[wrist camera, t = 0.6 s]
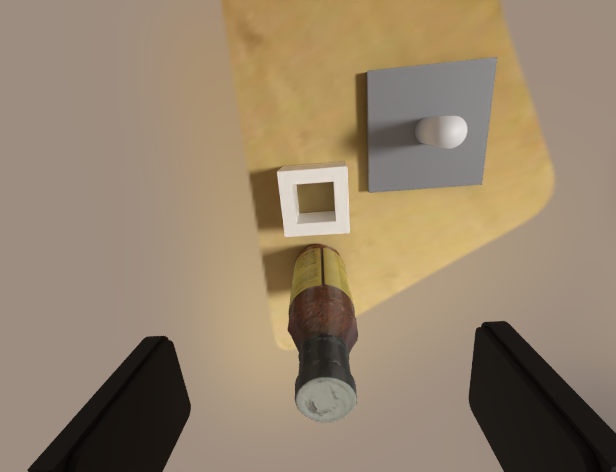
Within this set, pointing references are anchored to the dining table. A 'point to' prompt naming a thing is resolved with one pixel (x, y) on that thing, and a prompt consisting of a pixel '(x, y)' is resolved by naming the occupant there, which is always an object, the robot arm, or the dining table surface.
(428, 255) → the dining table surface
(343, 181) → the white block
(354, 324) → the sauce bottle
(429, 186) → the post base
